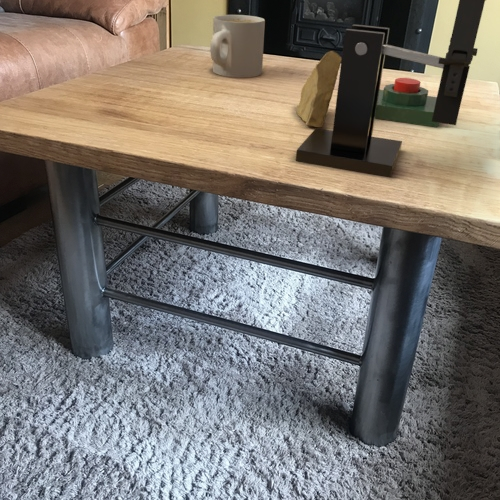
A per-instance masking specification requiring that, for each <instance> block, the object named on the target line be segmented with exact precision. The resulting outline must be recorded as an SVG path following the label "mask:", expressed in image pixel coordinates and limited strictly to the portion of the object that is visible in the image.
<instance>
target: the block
mask: <svg viewBox="0 0 500 500" xmlns="http://www.w3.org/2000/svg"><path fill="white" fill-rule="evenodd" d="M429 92H430V91H429V89H427V88H425V87H422V86H420V88H419V92H418V93H406V92H399V91H396V90H394V83H390V84H385V86H384V87H383V89H380V90H379V96H378V103H377V109H376V115H375V119H378V120H385V121H392V122H397V123H406V124H412V125H419V126H424V127H425V126H426V127H433V128H438V125H439V123H437V122H432V117H433V113H434V108H435V103H436V99H437V96H431V95H429Z"/></svg>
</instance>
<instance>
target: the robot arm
mask: <svg viewBox="0 0 500 500" xmlns="http://www.w3.org/2000/svg"><path fill="white" fill-rule="evenodd" d="M485 2H486V0H458V5H457V9H456V15H455V18H454V23H453V27H452V31H451V37H450V40H449V45H448V48H447V52H446V53H445V57H442V58H439V63H438V64H444V67H443V69H442V70H441V76H440V77H441V78H440V81H439V86H438V89H437V94H436V97H437V99H436V103H435V108H434V113H433V117H432V122H437V123H438V124H443V125H452V126H456V125H457V121H458V117H459V113H460V108H461V104H462V101H463V97H464V93H465V92H464V91H465V88H466V85H467V80H468V76H469V71H470V68H471V67H470V65H471V64H472V61H473V59H474V57H477V54H478V48H477V47H475V45H476V41H477V35H478V32H479V28H480V23H481V21H482V20H481V19H482V15H483V12H484V7H485Z"/></svg>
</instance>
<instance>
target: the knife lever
mask: <svg viewBox="0 0 500 500" xmlns="http://www.w3.org/2000/svg"><path fill="white" fill-rule="evenodd" d="M382 54H383V55H385V56H387V57H392V58H397V59H400V60H405V61H410V62H413V63H417V64H421V65H425V66H429V67H430V66H431V67H434V68H439V69H442V70H443V67H444V64H438V63H439V58H443V56H438V55H433V54H429V53H426V52H420V51H417V50H412V49H408V48H403V47H399V46H394V45H391V44H388V43H387V44H383V47H382Z"/></svg>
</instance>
